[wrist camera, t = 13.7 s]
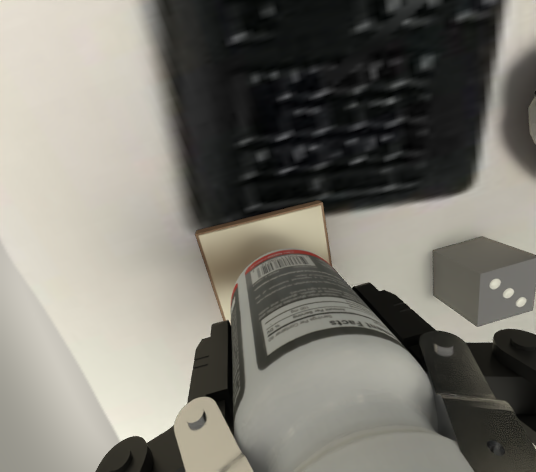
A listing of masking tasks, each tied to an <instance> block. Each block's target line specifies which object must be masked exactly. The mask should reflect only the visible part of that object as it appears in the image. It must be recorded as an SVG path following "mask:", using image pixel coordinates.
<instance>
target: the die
mask: <svg viewBox="0 0 536 472" xmlns="http://www.w3.org/2000/svg"><path fill="white" fill-rule="evenodd" d="M535 291H536V255H534V254H531V253H528V252H526V251H523V250H520V249H517V248H514V247H511V246H508V245H505V244H503V243H500V242H497V241H494V240H491V239H488V238H485V237H479V238H475V239H471V240H468V241H464V242H461V243H457V244H454V245H450V246H446V247H443V248H439V249H436V250H433V296H435V297H436V298H438V299H439V300H440V301H442V302H443V303H445V304H446V305H447V306H449V307H450V308H452V309H453V310H454V311H456V312H457V313H459V314H460V315H461V316H463V317H464V318H466V319H467V320H468V321H470V322H471V323H473V324H474V325H475V326H477V327H479V326H482V325H486V324H489V323H492V322H495V321H499V320H502V319H505V318H509V317H512V316H515V315H519V314H522V313H525V312H529V311H532V310H533V305H534V298H535Z"/></svg>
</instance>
